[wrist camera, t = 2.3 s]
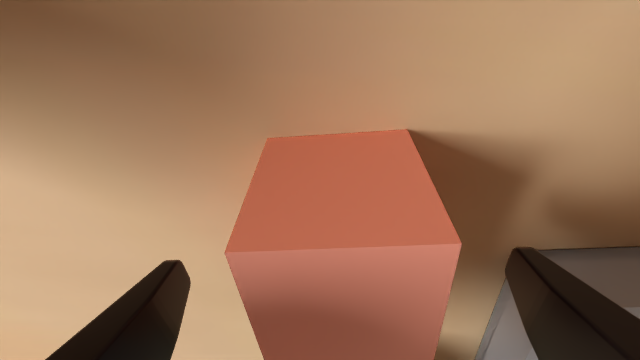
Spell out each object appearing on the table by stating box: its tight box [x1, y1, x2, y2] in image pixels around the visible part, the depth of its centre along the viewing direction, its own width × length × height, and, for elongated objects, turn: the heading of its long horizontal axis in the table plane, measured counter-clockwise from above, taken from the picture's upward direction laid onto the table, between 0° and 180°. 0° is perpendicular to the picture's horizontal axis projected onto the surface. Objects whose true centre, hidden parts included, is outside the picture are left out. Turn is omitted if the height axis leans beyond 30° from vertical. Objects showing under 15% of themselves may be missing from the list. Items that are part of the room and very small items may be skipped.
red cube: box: [225, 129, 462, 360], centre depth 9 cm, size 4×4×5 cm
